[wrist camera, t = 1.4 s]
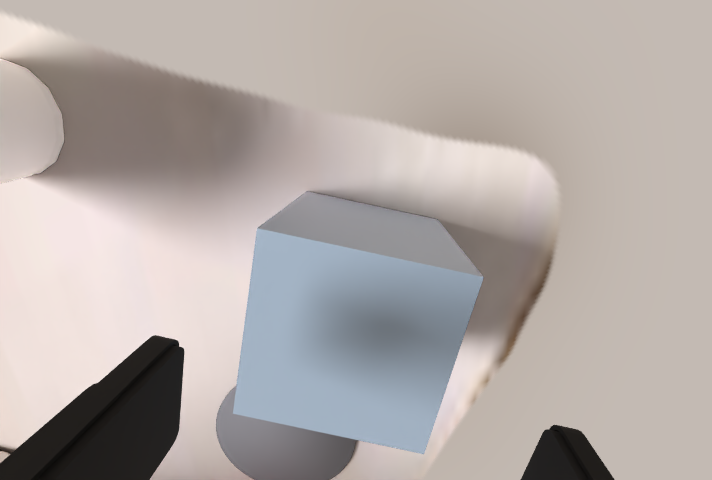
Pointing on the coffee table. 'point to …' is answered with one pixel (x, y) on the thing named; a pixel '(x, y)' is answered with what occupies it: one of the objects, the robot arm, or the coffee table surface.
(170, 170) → the coffee table surface
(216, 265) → the coffee table surface
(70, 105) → the coffee table surface
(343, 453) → the disc
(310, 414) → the blue box
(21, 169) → the foam cup
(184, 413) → the coffee table surface
